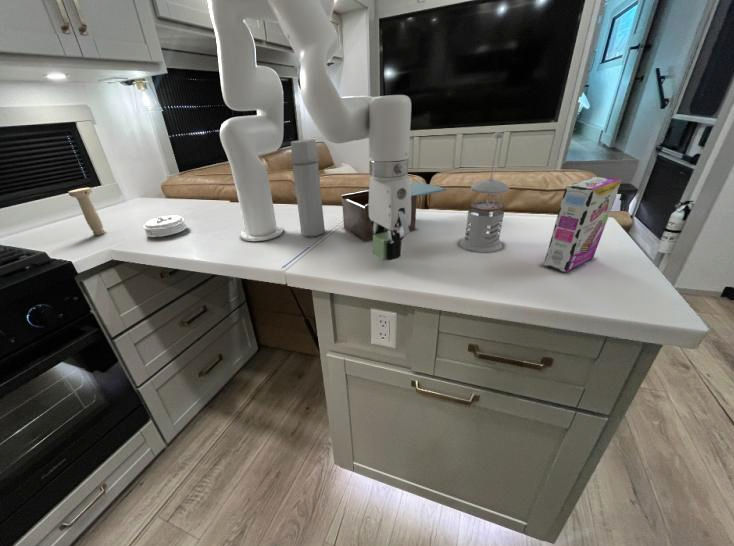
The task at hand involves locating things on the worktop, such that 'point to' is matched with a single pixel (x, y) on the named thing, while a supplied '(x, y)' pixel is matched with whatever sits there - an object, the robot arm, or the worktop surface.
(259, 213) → the robot arm
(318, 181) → the water bottle
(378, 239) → the block
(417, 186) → the sliding box cover
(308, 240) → the worktop surface
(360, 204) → the walnut box
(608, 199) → the candy bar box
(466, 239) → the french press
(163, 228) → the lid
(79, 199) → the handle
